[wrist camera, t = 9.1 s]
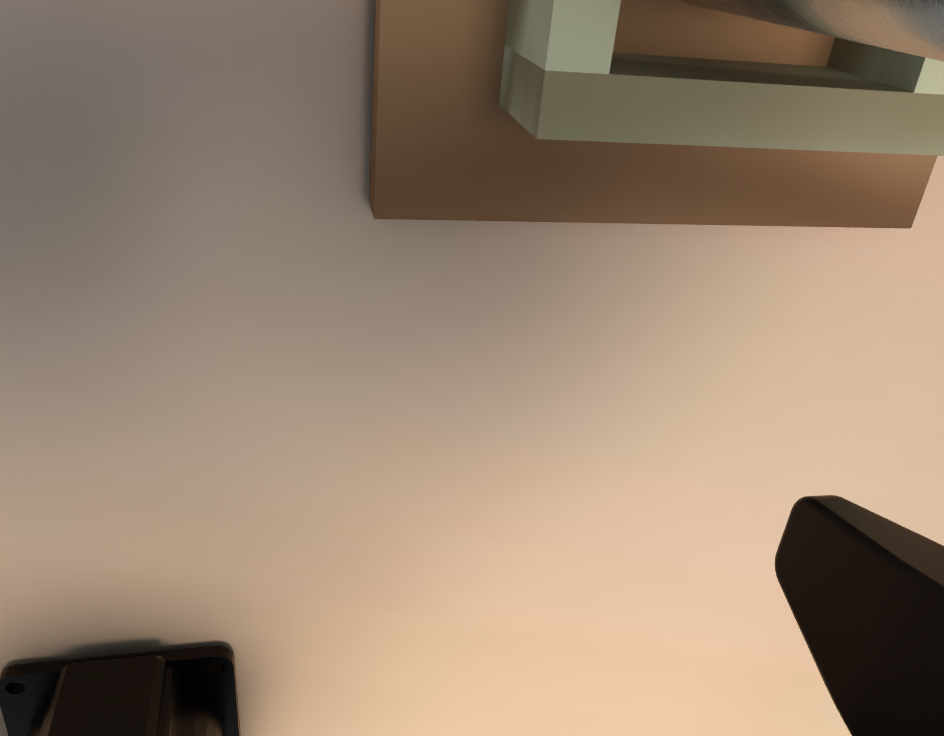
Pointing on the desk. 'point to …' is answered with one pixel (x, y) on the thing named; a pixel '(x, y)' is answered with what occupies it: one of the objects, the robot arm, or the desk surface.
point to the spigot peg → (853, 20)
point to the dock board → (643, 117)
